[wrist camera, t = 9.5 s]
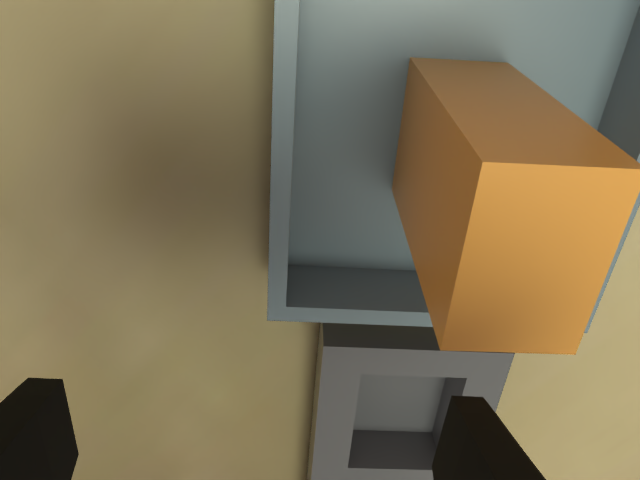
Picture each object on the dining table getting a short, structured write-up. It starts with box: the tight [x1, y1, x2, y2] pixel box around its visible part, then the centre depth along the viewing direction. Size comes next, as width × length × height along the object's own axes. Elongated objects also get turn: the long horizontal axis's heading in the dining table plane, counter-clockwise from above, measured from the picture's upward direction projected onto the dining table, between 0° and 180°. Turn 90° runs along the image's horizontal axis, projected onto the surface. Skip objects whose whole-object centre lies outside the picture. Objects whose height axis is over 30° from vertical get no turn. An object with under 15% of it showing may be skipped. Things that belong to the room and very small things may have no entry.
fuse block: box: [307, 322, 515, 480], centre depth 25 cm, size 7×16×2 cm, turn 176°
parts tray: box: [267, 0, 640, 333], centre depth 16 cm, size 11×16×3 cm
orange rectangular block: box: [392, 57, 640, 355], centre depth 14 cm, size 3×4×8 cm
